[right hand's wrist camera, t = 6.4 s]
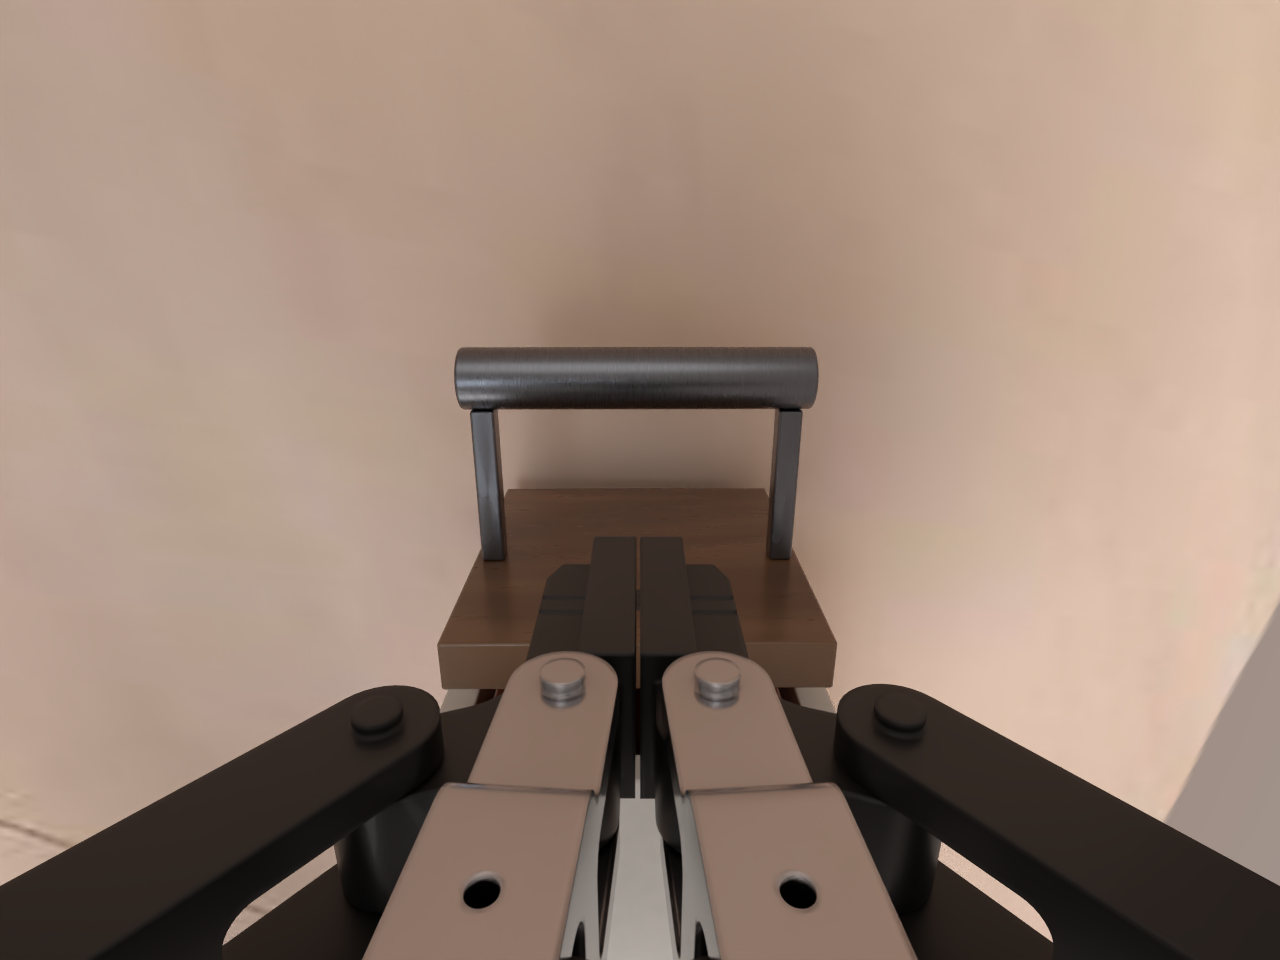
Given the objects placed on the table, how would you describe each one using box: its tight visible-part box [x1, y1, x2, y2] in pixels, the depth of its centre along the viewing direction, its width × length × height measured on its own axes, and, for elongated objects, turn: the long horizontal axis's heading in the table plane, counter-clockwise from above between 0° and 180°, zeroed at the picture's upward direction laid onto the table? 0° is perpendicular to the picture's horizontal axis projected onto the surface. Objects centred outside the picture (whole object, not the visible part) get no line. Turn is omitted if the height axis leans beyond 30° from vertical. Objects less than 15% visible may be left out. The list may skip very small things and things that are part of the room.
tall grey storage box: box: [440, 687, 836, 960], centre depth 24 cm, size 19×10×11 cm, turn 0°
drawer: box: [437, 347, 837, 755], centre depth 22 cm, size 23×9×9 cm, turn 0°
